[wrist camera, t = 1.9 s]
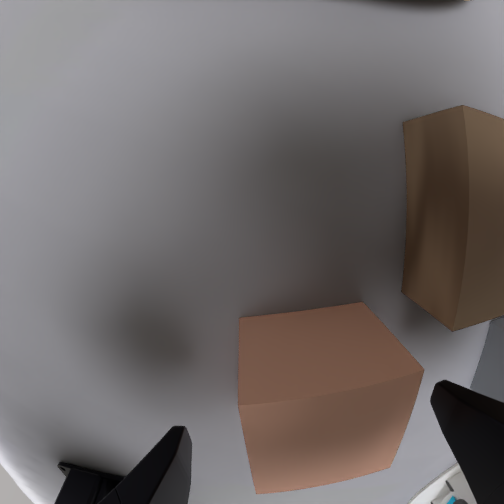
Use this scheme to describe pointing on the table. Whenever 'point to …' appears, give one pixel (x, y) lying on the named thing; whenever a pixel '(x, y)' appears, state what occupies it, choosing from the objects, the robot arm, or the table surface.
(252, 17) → the table surface
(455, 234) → the walnut base block
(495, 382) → the slate-grey block
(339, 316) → the terracotta block
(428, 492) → the panda figurine
